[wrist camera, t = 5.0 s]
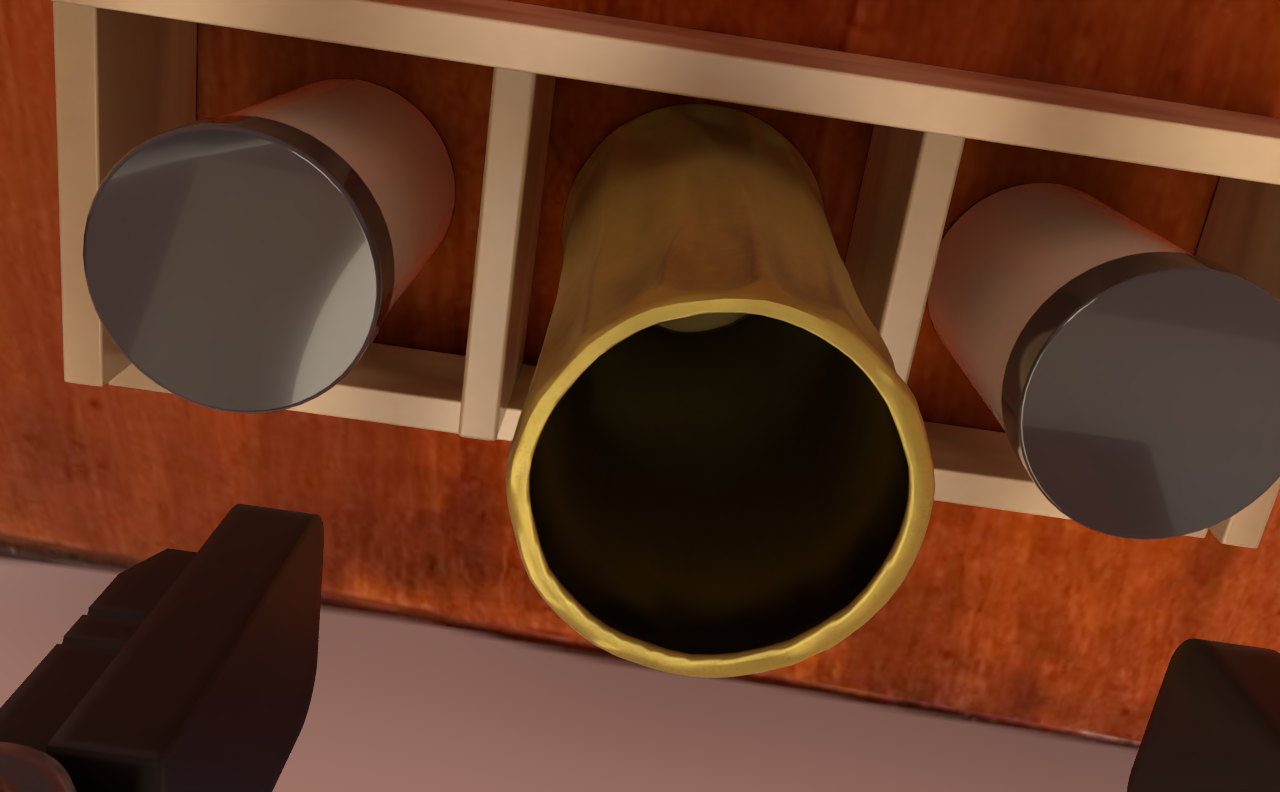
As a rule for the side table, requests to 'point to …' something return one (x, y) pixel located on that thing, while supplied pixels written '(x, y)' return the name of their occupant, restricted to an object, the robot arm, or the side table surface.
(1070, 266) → the spice jar right
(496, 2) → the rack
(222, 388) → the spice jar left
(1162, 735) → the robot arm
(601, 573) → the vase
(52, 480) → the side table surface
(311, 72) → the side table surface
